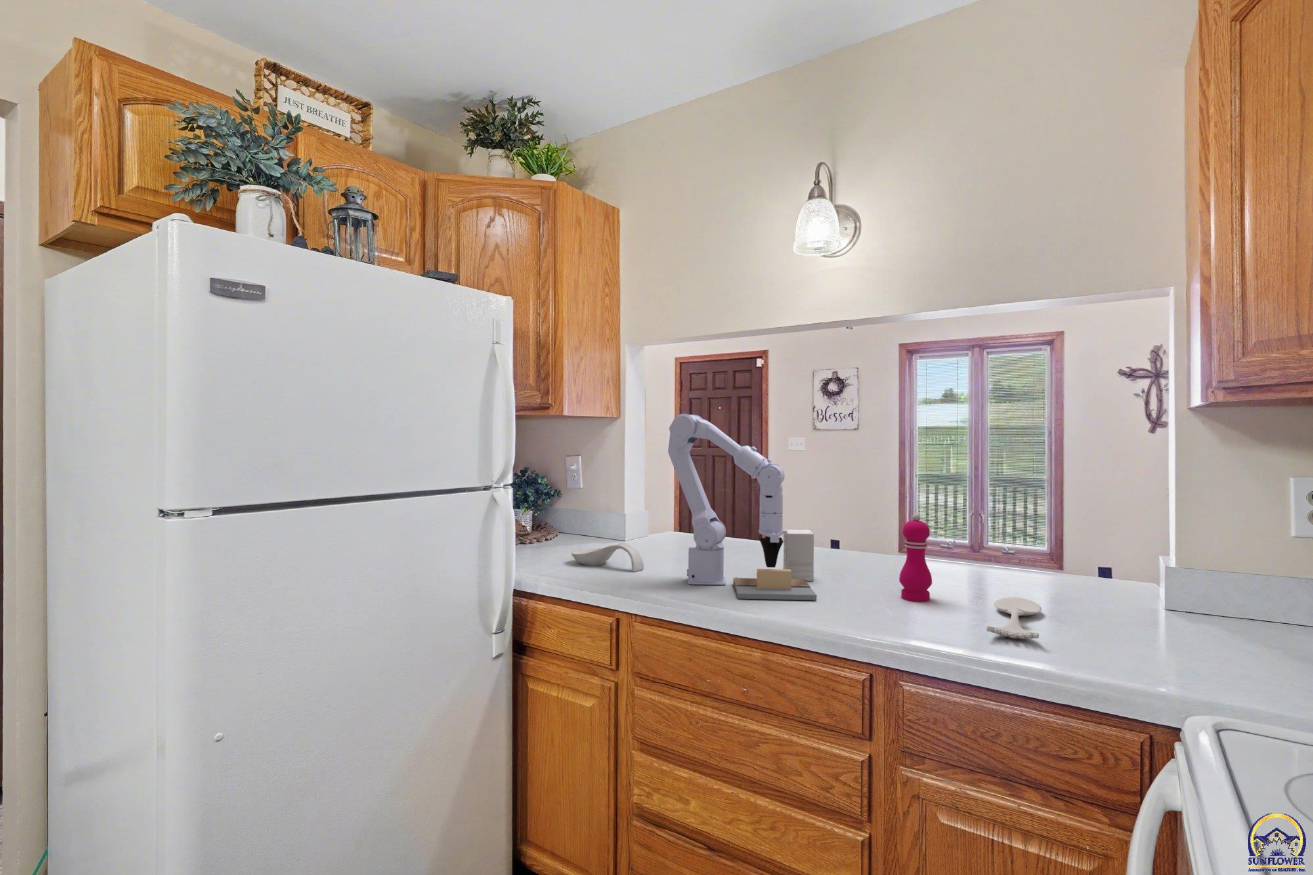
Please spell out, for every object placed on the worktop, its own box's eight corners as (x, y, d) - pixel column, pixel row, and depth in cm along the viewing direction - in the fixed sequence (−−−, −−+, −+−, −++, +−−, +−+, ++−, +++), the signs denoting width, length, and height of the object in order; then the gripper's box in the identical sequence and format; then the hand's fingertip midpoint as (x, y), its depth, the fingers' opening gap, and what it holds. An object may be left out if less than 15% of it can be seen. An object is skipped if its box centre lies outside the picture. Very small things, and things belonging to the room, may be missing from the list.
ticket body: (735, 591, 159) (735, 584, 159) (733, 584, 167) (733, 577, 167) (810, 593, 158) (810, 586, 158) (804, 585, 166) (804, 578, 166)
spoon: (984, 643, 122) (984, 624, 122) (995, 605, 149) (995, 590, 149) (1040, 651, 117) (1040, 632, 117) (1041, 611, 145) (1041, 595, 145)
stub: (738, 598, 152) (738, 574, 152) (735, 591, 159) (736, 568, 159) (816, 600, 151) (816, 575, 151) (810, 592, 158) (810, 569, 158)
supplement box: (810, 575, 178) (810, 529, 178) (813, 581, 171) (814, 533, 171) (782, 574, 179) (783, 528, 179) (785, 580, 172) (785, 532, 172)
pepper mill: (897, 599, 153) (898, 514, 153) (901, 593, 159) (902, 511, 159) (930, 603, 149) (931, 516, 149) (933, 597, 156) (934, 513, 156)
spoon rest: (563, 564, 191) (563, 540, 191) (590, 558, 201) (590, 535, 201) (627, 575, 178) (627, 549, 178) (652, 568, 187) (652, 543, 187)
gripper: (791, 516, 156) (791, 573, 156) (782, 509, 171) (782, 561, 171) (762, 516, 157) (761, 572, 157) (755, 509, 171) (755, 561, 171)
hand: (770, 566), depth 164 cm, fingers closed
